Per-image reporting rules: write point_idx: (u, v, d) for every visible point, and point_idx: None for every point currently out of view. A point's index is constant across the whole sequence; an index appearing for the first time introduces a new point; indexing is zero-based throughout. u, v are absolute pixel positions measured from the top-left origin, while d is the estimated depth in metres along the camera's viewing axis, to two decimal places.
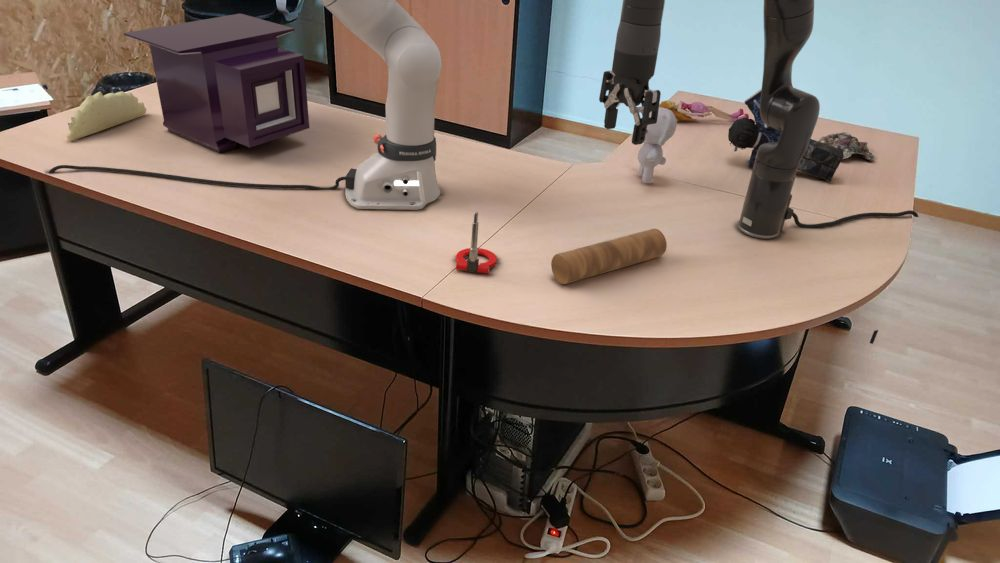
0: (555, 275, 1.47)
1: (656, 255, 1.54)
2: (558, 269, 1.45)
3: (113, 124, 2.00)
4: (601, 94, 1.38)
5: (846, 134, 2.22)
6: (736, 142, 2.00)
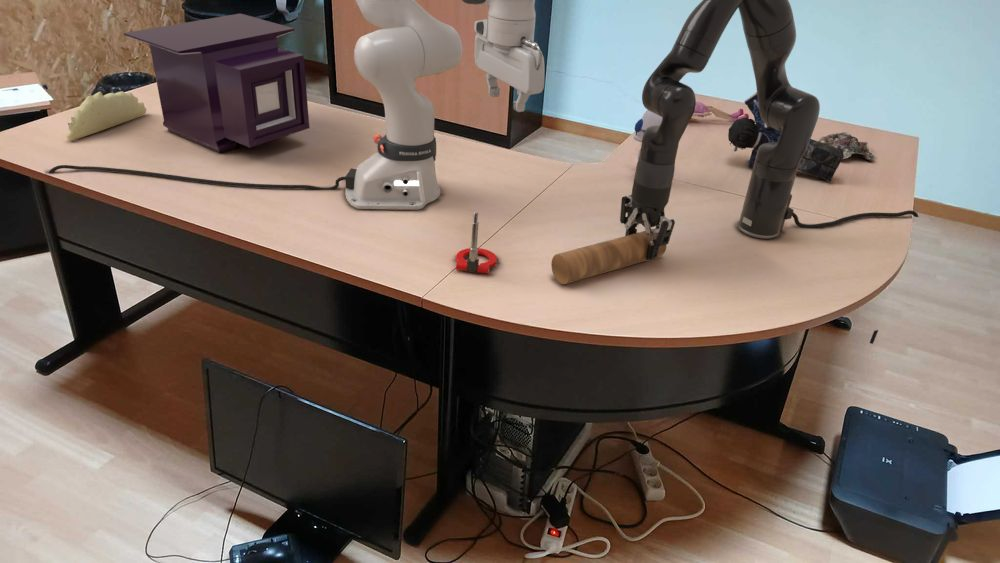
0: (555, 275, 1.47)
1: None
2: (558, 269, 1.45)
3: (113, 124, 2.00)
4: (622, 216, 1.56)
5: (846, 134, 2.22)
6: (736, 142, 2.00)
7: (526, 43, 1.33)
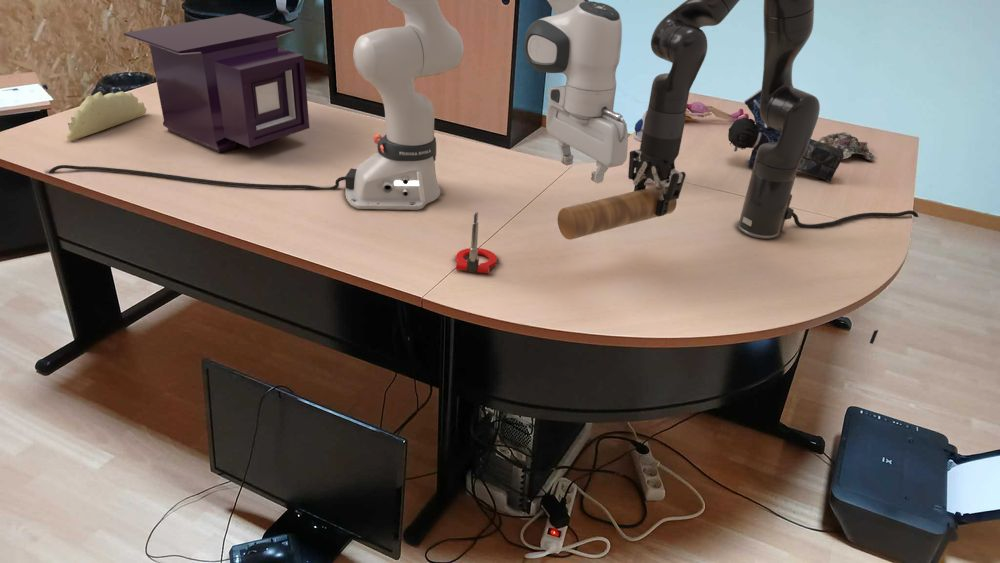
0: (561, 231, 1.42)
1: None
2: (564, 224, 1.40)
3: (113, 124, 2.00)
4: (630, 172, 1.50)
5: (846, 134, 2.22)
6: (736, 142, 2.00)
7: (608, 114, 1.26)
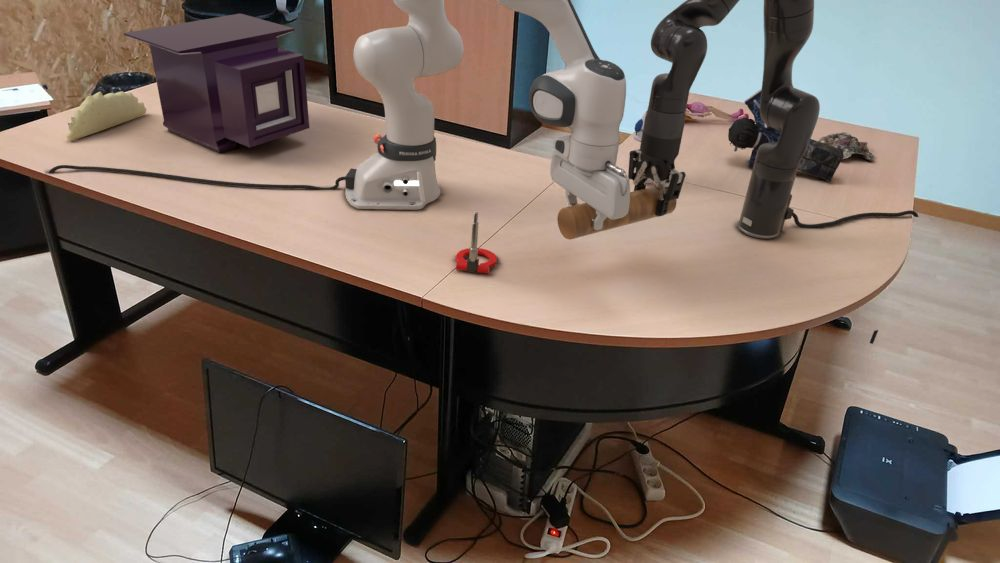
0: (561, 230, 1.42)
1: None
2: (564, 224, 1.40)
3: (113, 124, 2.00)
4: (630, 172, 1.50)
5: (846, 134, 2.22)
6: (736, 142, 2.00)
7: (612, 168, 1.30)
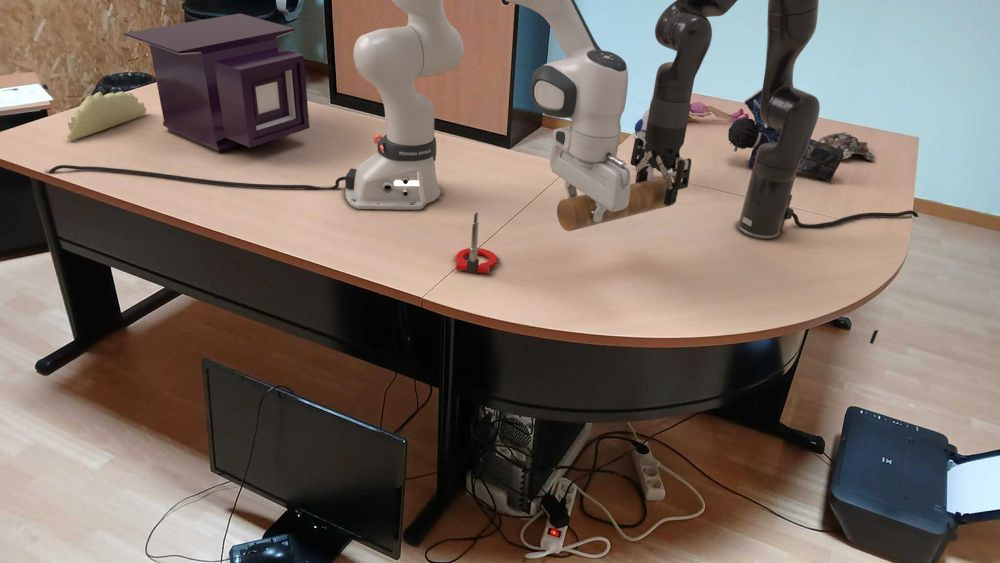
0: (561, 222, 1.41)
1: None
2: (564, 215, 1.39)
3: (113, 124, 2.00)
4: (633, 158, 1.50)
5: (846, 134, 2.22)
6: (736, 142, 2.00)
7: (612, 160, 1.29)
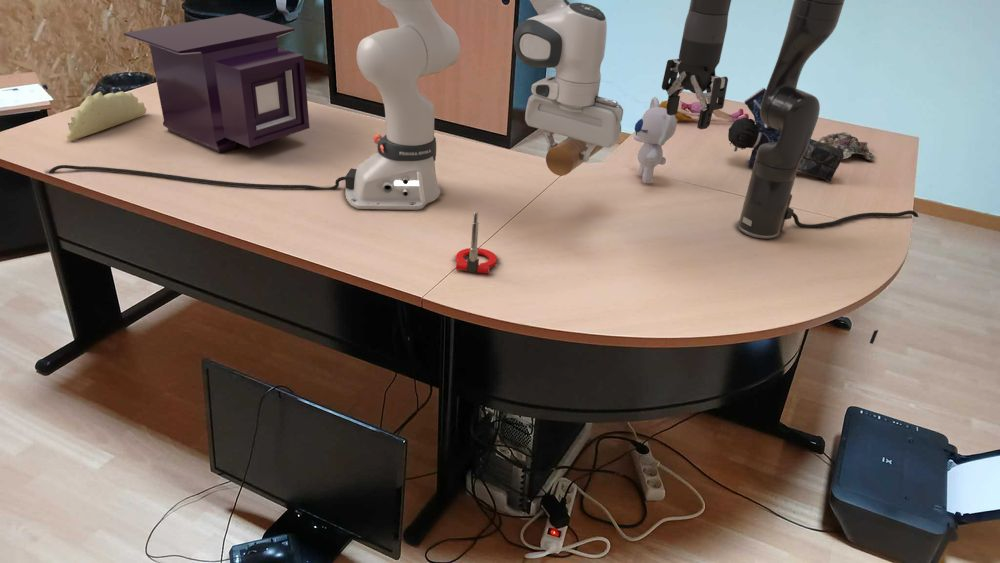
0: (552, 169, 1.52)
1: None
2: (556, 162, 1.50)
3: (113, 124, 2.00)
4: (664, 82, 1.44)
5: (846, 134, 2.22)
6: (736, 142, 2.00)
7: (603, 102, 1.43)
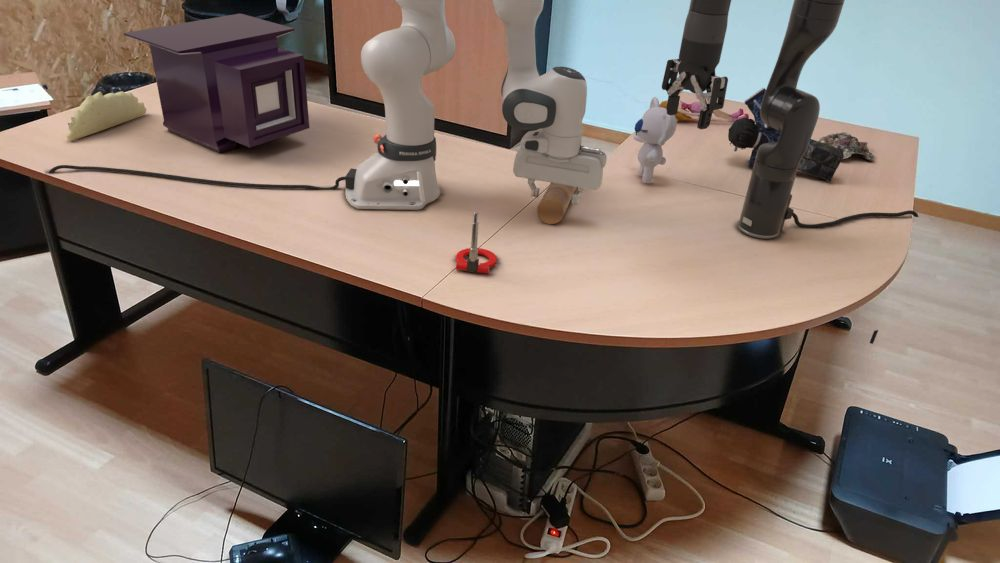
0: (543, 219, 1.68)
1: None
2: (547, 212, 1.66)
3: (113, 124, 2.00)
4: (664, 82, 1.44)
5: (846, 134, 2.22)
6: (736, 142, 2.00)
7: (588, 150, 1.61)
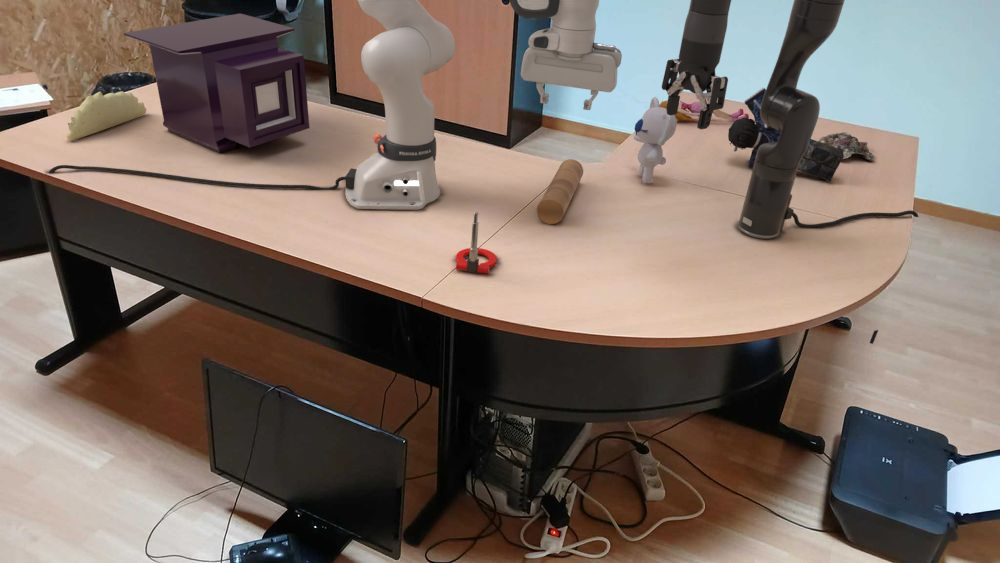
0: (543, 219, 1.68)
1: (580, 179, 1.85)
2: (547, 212, 1.66)
3: (113, 124, 2.00)
4: (664, 82, 1.44)
5: (846, 134, 2.22)
6: (736, 142, 2.00)
7: (602, 47, 1.49)
